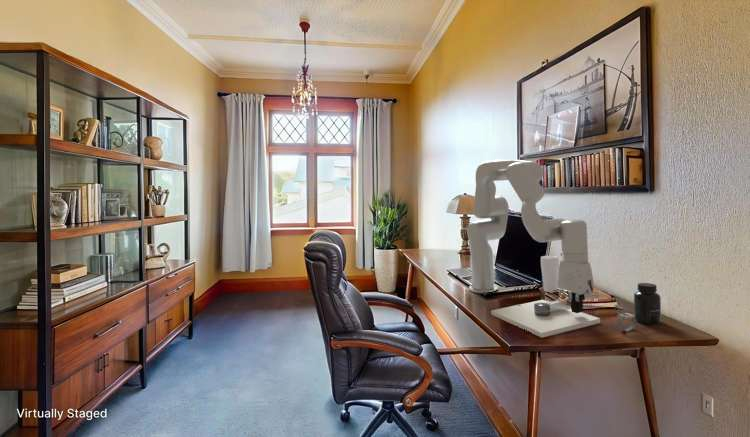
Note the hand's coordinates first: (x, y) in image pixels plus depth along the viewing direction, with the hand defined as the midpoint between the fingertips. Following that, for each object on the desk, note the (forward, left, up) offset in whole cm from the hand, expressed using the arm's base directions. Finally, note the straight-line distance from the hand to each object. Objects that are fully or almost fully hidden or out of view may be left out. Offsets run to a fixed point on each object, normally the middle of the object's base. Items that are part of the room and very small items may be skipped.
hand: (577, 311), depth 119 cm
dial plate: (-7, -8, -3) cm, 11 cm away
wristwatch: (+13, +5, -3) cm, 14 cm away
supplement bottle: (+11, +17, -3) cm, 20 cm away
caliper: (-9, +16, -3) cm, 19 cm away
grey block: (-7, -4, -1) cm, 8 cm away
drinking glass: (-29, +18, -3) cm, 34 cm away
